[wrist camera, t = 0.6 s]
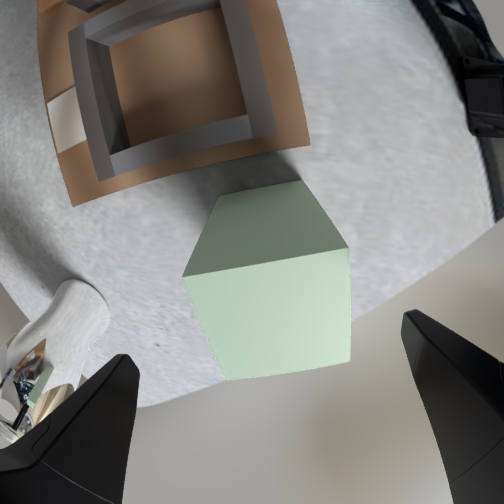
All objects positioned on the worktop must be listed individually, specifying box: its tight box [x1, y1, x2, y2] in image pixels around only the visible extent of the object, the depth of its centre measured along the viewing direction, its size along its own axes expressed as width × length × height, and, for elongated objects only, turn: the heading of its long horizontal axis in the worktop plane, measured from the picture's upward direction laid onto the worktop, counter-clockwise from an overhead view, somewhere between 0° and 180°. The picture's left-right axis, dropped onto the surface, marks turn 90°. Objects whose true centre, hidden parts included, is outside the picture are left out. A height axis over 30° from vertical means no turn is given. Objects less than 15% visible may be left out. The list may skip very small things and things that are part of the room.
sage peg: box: [182, 180, 351, 380], centre depth 15 cm, size 6×6×10 cm
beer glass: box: [0, 279, 111, 444], centre depth 16 cm, size 7×7×15 cm
